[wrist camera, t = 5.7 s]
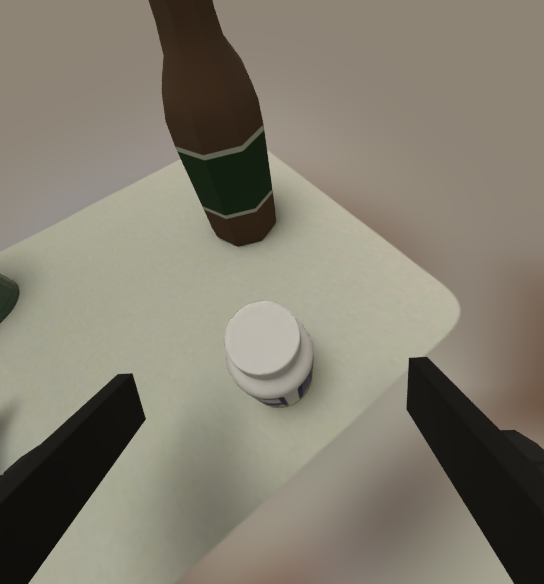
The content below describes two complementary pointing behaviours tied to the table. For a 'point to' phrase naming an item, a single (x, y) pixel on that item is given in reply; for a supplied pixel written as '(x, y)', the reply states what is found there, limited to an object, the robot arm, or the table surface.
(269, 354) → the pill bottle
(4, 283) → the cup
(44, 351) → the table surface
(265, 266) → the table surface
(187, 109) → the beer bottle
